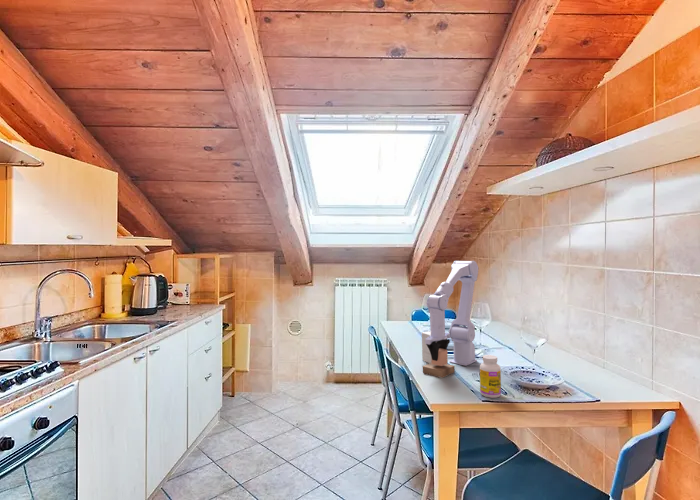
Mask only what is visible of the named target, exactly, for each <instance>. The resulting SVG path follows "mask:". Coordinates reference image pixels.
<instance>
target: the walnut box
mask: <svg viewBox="0 0 700 500" xmlns="http://www.w3.org/2000/svg"><path fill="white" fill-rule="evenodd" d="M455 368H456V367H455V364H454V365H453V364H449V363H448V364H445V365H443V366H439V365H435V364H432V363H427V364H424V365H423V366H422V373H423V374H425V375H430V376H433V377H437V378H441V379H443V378H445V377H446V376H449V375H451V374H454V373H455V371H456V370H455Z"/></svg>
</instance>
